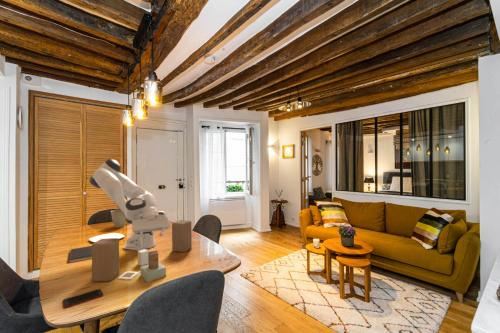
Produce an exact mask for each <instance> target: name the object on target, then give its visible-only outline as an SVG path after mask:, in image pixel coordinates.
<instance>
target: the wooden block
mask: <svg viewBox="0 0 500 333" xmlns="http://www.w3.org/2000/svg"><path fill="white" fill-rule="evenodd" d="M91 246H92V258H91V280H92V282H96V283H97V282H111V281H113V279H114V278H116V277H118V275H119V274H120V239H118V238H106V239H100V240H98V241H97V242H92V244H91Z"/></svg>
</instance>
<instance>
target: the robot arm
mask: <svg viewBox="0 0 500 333" xmlns="http://www.w3.org/2000/svg"><path fill="white" fill-rule="evenodd" d="M89 183H90V184H91V185H92V186H93V187H94V188H97V189H101V190H102V191H103V192H104V193H106V195H107V196H108V197H109V198H110V200H112V202H113V203H114V205H115V206H116V207H117V208H118V209H120V210H121V211H122V213H123V214H124V216H125V220H126V223H128V224H132V225H133V226H132V232H133V233H132V235H130V236H129V237H128V238H127V240H126V242H125V244H124V245H123V246H122V249H124V250H125V249H126V250H132V251H140V250H143V249H146V250H148V249H150V248H151V249H152V248H153V247H155V246H156V241H155V232H157V231H160V232H159V237H163V235H164V234H163V232H164V230H169V228H170V220H169V219H168V216H167V214H166V212H165V211H159V210H158V208H157V207H158V205H157V200H156V198H155V195H154V194H153V193H151V192H150V191H148V190H147V189H144V188H143V187H141V186H140V185H138V184H137V183H135V182H134V181H133V180H131V179H130V178H129V177H128V176H126V175H125V174H123V173H122V167H121V164H120V163H119V162H118V161H117V160H116V159H112V158H109V159H106V160H105V161H104V162H103V163H102V164H101V165H100V166H99V167H98V168H97V169H96V170H95V171H94V172H93V175H91V176H90V178H89ZM125 197H126V198H128V200H127V199H126V198H125Z"/></svg>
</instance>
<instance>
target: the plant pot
mask: <svg viewBox="0 0 500 333" xmlns="http://www.w3.org/2000/svg"><path fill="white" fill-rule="evenodd" d="M110 214H111V220H112V222H113V226H114V227H115V228H116V229H119V228H124V227H125V225H126V223H127V221H126V220H125V216H124V214H123V213H122V211H121V210H120V209H119V208H118V209H114V210H110Z"/></svg>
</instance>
